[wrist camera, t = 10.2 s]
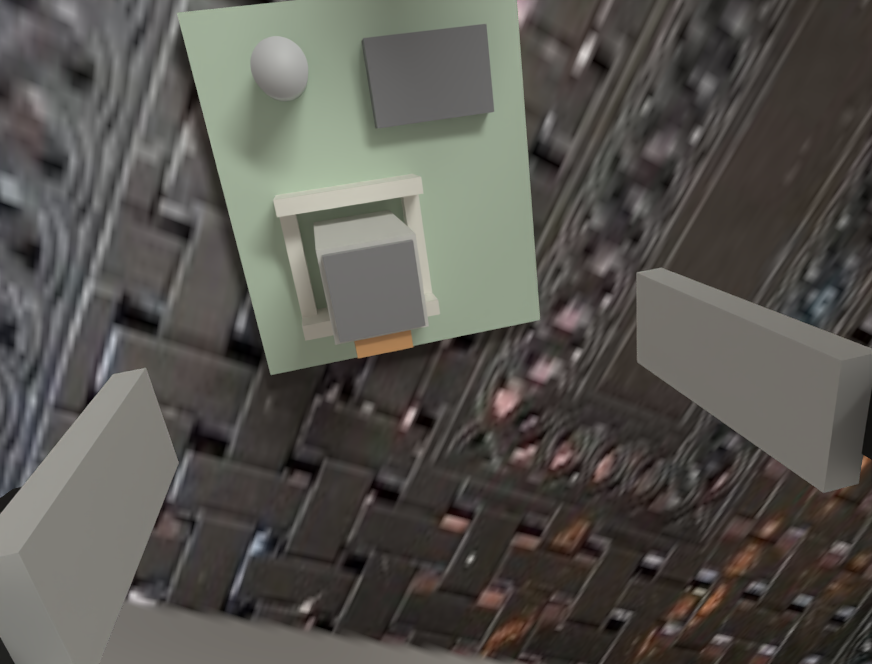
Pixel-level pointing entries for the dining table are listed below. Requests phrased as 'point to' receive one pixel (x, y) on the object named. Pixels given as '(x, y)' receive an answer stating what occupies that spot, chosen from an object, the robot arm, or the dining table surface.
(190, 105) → the dining table surface
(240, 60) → the board
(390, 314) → the plug
